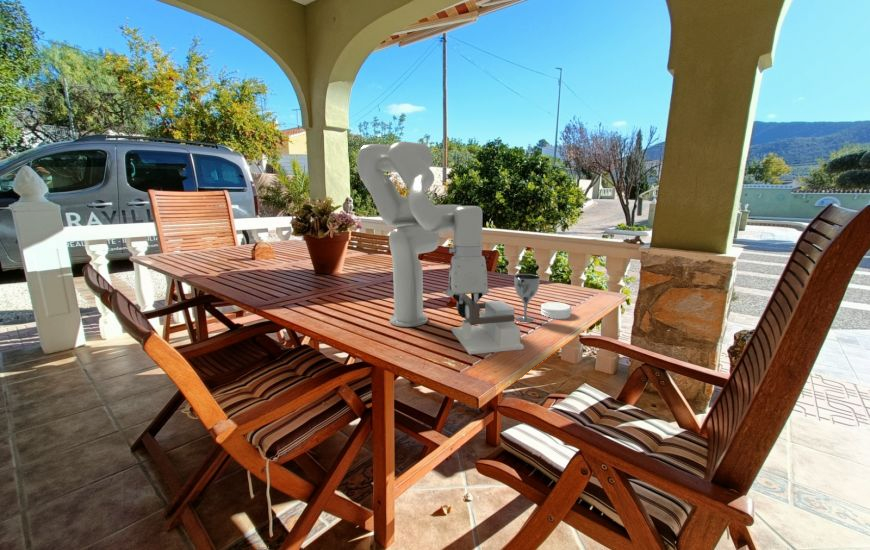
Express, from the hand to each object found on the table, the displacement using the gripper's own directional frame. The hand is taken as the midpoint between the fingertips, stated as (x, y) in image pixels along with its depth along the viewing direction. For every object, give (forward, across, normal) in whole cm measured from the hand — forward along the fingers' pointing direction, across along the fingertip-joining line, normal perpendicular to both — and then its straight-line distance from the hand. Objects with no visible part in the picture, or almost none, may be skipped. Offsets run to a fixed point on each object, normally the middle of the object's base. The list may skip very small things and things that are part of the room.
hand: (467, 315), depth 109 cm
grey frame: (0, +5, 0) cm, 5 cm away
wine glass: (+8, +24, +13) cm, 29 cm away
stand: (+8, +6, 0) cm, 10 cm away
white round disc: (+8, +37, +16) cm, 42 cm away
